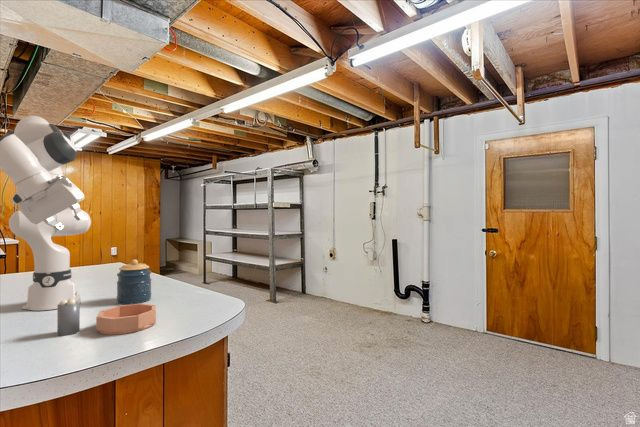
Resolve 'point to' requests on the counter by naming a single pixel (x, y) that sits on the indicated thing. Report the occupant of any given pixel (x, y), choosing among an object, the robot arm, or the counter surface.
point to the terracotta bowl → (126, 319)
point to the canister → (134, 283)
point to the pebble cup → (68, 317)
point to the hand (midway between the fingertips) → (70, 224)
